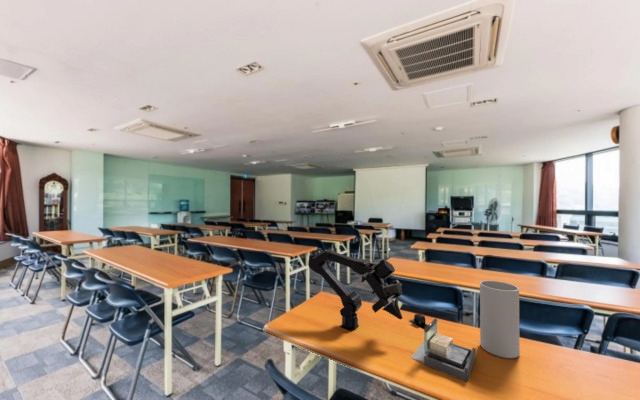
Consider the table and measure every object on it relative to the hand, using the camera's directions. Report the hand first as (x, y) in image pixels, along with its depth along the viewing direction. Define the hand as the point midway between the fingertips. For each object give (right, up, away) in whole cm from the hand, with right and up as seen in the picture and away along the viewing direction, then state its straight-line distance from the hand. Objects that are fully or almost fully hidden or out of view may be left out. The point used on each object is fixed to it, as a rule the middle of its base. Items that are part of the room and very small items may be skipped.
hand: (401, 318), depth 103 cm
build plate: (+14, -11, +17) cm, 25 cm away
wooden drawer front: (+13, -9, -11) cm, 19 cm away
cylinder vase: (+37, -10, -4) cm, 38 cm away
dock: (+12, -11, -10) cm, 19 cm away
